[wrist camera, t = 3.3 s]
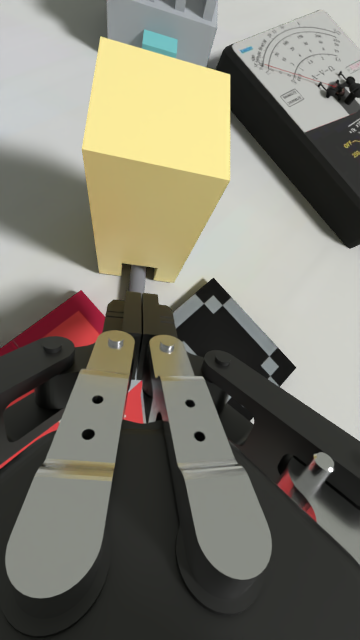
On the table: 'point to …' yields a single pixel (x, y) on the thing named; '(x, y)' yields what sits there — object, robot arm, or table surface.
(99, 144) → the yellow block
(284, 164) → the multimeter
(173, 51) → the rod
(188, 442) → the robot arm
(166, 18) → the rack
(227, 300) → the red board with handle
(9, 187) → the table surface
